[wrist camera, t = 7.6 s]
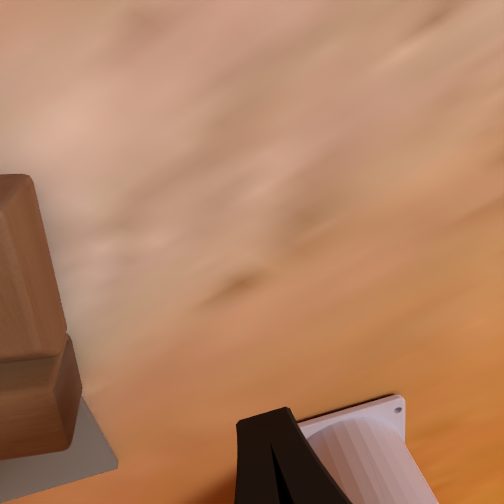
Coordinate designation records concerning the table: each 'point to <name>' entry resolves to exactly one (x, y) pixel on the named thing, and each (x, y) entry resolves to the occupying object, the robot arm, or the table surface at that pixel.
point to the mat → (59, 461)
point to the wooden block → (32, 334)
